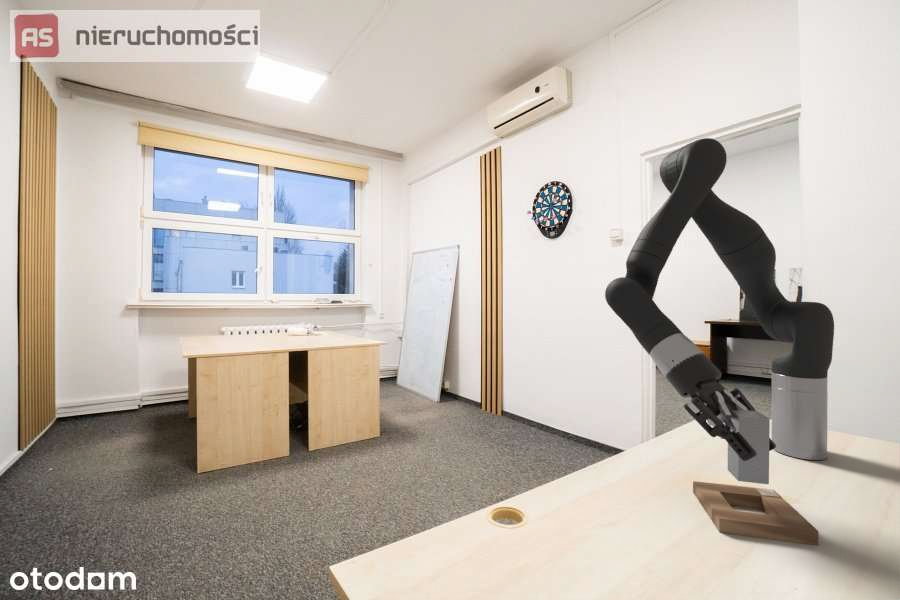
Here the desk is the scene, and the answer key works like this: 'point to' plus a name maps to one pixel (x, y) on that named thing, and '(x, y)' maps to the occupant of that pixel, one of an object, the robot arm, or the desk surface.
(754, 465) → the peg
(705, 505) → the socket board
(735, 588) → the desk surface
